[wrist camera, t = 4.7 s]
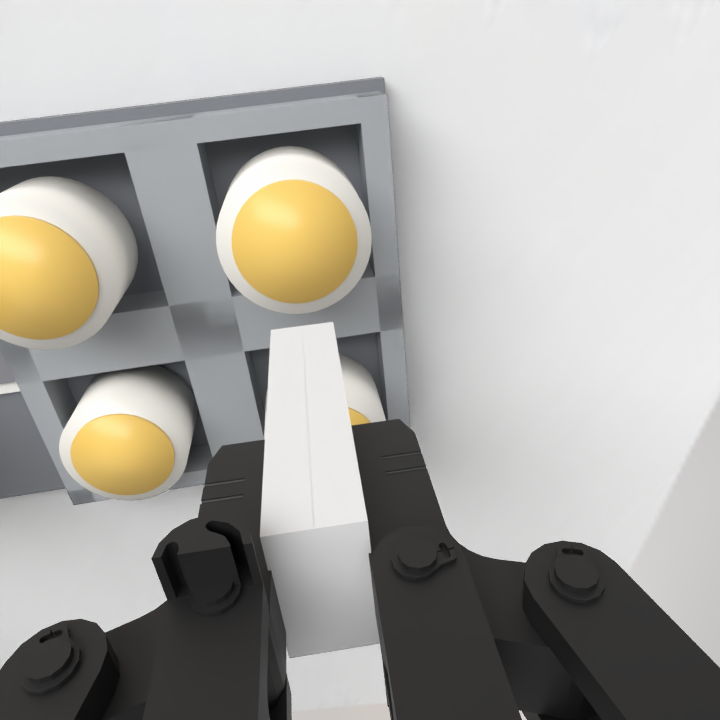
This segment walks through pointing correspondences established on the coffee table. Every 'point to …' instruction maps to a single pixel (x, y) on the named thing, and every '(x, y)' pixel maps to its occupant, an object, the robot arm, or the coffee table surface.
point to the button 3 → (293, 231)
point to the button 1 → (60, 262)
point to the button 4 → (358, 393)
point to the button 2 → (130, 433)
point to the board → (197, 265)
